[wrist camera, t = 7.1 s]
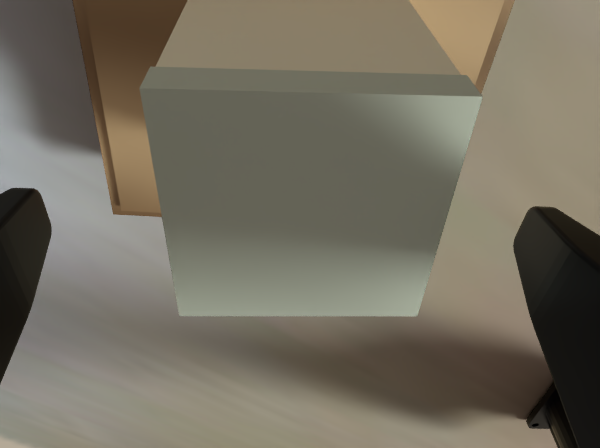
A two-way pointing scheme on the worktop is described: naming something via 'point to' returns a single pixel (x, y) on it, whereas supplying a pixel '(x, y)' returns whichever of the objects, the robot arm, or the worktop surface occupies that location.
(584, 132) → the worktop surface
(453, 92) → the cream block
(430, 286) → the worktop surface
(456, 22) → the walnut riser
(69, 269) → the worktop surface
